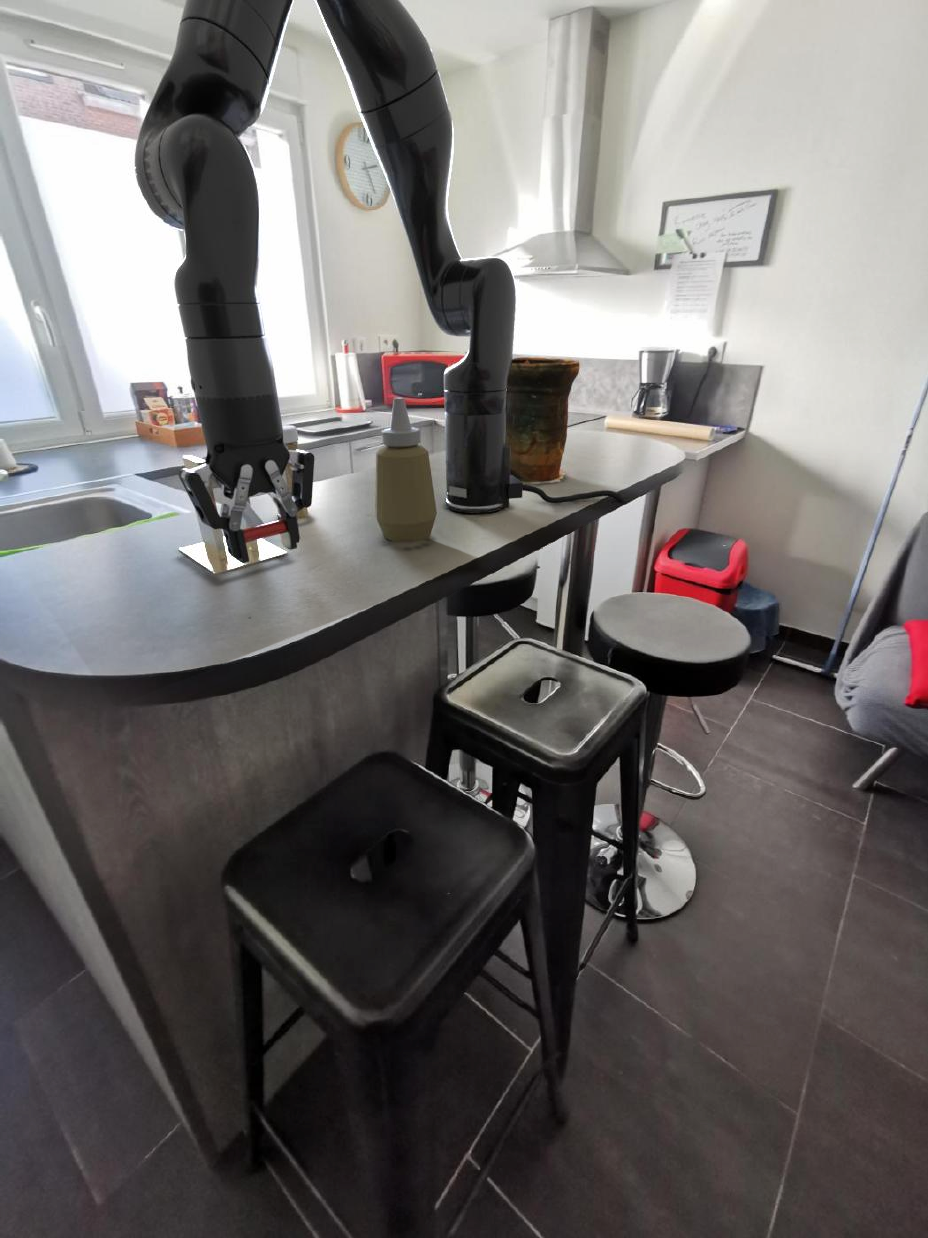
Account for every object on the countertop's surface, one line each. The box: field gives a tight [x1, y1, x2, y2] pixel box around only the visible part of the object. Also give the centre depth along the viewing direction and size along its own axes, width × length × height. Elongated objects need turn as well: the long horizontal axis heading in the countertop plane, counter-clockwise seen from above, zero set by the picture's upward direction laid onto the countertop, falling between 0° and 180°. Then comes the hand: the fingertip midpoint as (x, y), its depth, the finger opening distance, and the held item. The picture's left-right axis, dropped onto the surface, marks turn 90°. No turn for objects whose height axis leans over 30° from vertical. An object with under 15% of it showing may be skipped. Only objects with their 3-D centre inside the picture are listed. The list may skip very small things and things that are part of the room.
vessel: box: [506, 356, 580, 485], centre depth 101 cm, size 14×14×20 cm
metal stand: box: [178, 454, 288, 576], centre depth 67 cm, size 11×9×13 cm
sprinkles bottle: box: [276, 424, 309, 519], centre depth 81 cm, size 5×5×13 cm
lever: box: [199, 456, 287, 543], centre depth 63 cm, size 13×5×2 cm, turn 45°
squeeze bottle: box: [374, 397, 438, 543], centre depth 72 cm, size 8×8×18 cm
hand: (266, 553), depth 62 cm, fingers closed on lever, 5 cm apart
